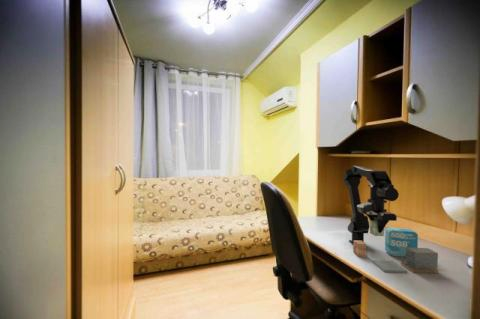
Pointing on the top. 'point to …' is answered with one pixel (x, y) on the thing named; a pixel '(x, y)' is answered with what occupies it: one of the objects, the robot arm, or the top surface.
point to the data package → (400, 241)
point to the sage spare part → (375, 228)
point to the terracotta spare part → (359, 248)
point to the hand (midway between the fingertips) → (376, 231)
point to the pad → (389, 266)
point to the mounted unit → (421, 260)
